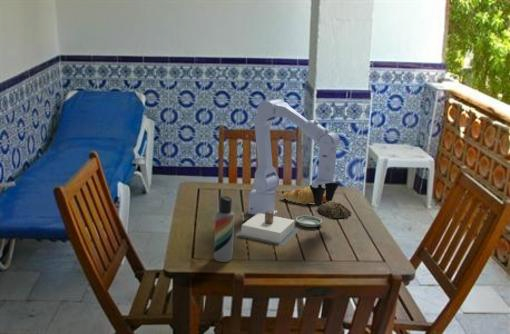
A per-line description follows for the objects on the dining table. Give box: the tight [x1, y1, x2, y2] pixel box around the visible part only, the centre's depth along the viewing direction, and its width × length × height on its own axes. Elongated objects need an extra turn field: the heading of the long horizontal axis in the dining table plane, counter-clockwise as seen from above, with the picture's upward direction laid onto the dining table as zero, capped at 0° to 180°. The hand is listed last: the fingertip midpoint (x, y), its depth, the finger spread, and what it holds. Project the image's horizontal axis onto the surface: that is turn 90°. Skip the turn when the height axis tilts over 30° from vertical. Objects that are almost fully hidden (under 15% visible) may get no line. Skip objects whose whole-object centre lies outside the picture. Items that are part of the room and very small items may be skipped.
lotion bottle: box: [213, 195, 235, 263], centre depth 168 cm, size 6×6×20 cm
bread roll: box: [317, 201, 352, 219], centre depth 216 cm, size 13×12×5 cm
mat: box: [234, 227, 301, 247], centre depth 193 cm, size 18×17×1 cm
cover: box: [241, 211, 296, 243], centre depth 192 cm, size 14×14×7 cm
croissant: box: [280, 185, 329, 204], centre depth 228 cm, size 21×10×8 cm, turn 88°
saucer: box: [295, 214, 323, 228], centre depth 202 cm, size 10×10×2 cm
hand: (323, 202), depth 198 cm, fingers open, 7 cm apart
